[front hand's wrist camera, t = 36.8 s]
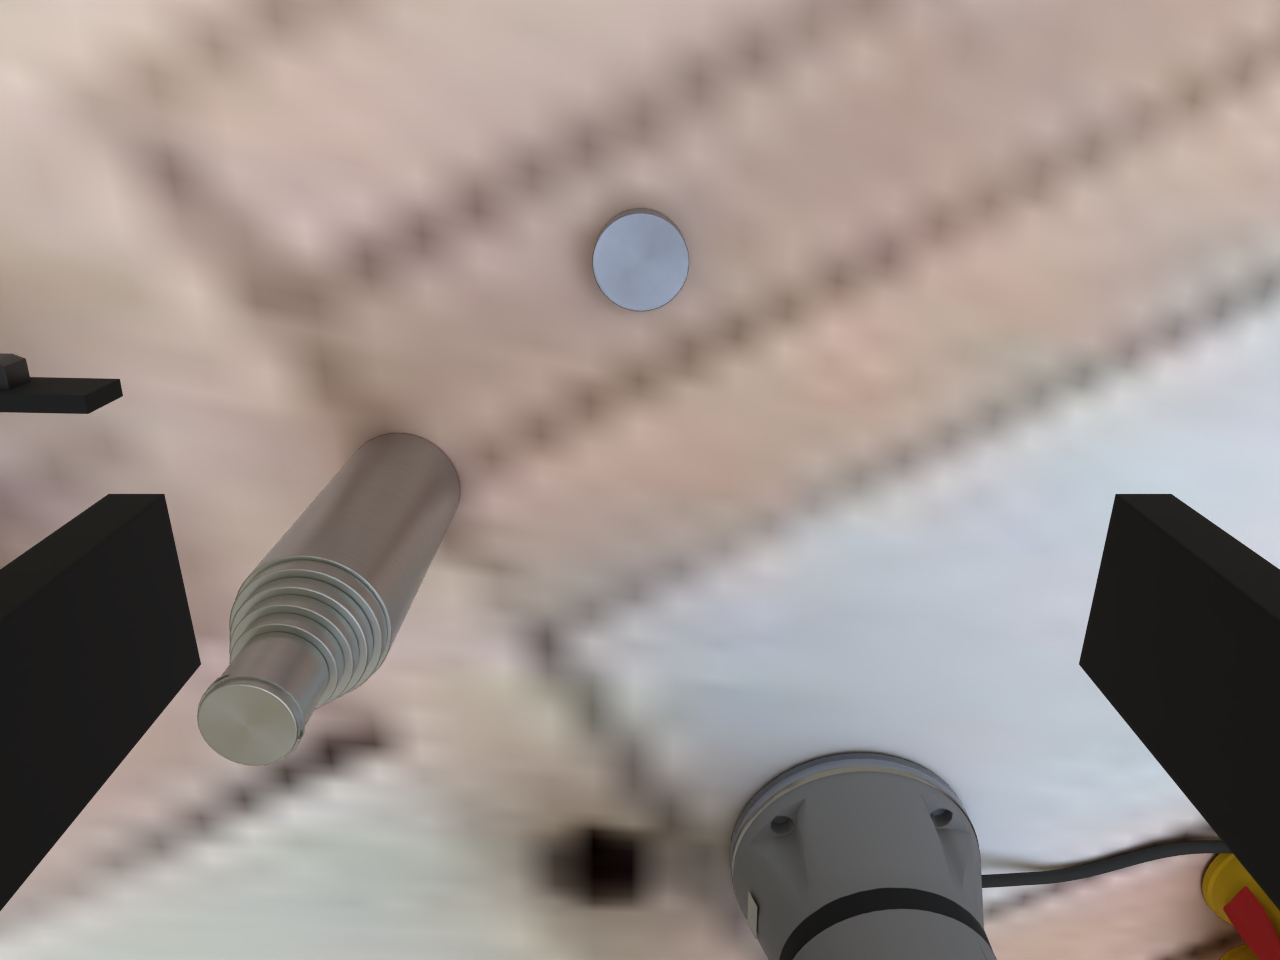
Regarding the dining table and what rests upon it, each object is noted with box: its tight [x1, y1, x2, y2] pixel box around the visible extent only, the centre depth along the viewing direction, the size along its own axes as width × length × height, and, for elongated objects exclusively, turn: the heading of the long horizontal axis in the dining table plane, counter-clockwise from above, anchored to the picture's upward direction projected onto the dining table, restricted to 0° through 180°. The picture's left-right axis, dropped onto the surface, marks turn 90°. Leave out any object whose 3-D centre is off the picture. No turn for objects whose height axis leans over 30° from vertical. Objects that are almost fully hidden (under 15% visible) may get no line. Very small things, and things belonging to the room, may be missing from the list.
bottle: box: [197, 433, 460, 766], centre depth 38 cm, size 6×6×20 cm
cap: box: [593, 208, 689, 311], centre depth 42 cm, size 4×4×2 cm
